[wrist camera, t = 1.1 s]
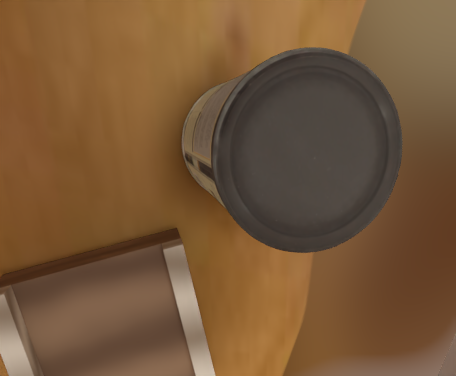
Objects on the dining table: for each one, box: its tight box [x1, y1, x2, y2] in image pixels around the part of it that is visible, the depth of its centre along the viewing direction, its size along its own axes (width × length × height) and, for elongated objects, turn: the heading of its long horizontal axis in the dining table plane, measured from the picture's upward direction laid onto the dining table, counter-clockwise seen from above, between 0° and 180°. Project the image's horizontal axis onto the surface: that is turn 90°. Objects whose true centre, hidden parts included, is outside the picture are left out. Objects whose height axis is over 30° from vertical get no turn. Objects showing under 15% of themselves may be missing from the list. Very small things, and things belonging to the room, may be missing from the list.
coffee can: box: [182, 48, 402, 253], centre depth 26 cm, size 10×10×14 cm
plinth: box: [0, 228, 215, 376], centre depth 30 cm, size 14×14×4 cm
